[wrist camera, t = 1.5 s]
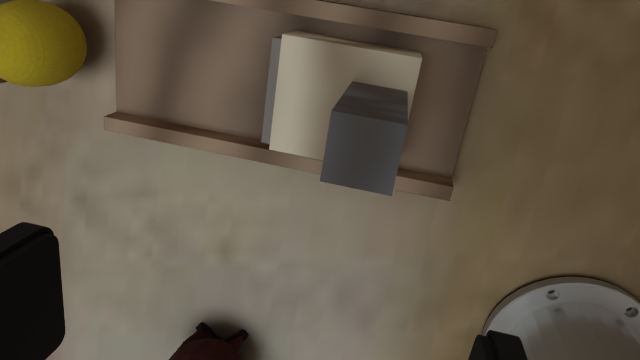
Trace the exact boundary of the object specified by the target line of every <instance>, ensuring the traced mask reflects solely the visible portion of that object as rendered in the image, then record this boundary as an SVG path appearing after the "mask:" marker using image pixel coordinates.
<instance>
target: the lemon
mask: <svg viewBox="0 0 640 360" xmlns="http://www.w3.org/2000/svg"><path fill="white" fill-rule="evenodd" d="M86 54H87V42H86V38H85V35H84V32H83V30H82V28H81V27H80V25H79V24H78V22H77V21H76V20H75V19H74V18H73V17H72V16H71V15H70V14H69V13H68V12H66V11H64V10H63V9H61V8H59V7H58V6H56V5H53V4H50V3H47V2H43V1H39V0H13V1H10V2H6V3H3V4H0V78H1V79H3V80H5V81H8V82H10V83H13V84H18V85H23V86H30V87H39V86H49V85H54V84H57V83H60V82H62V81H65V80H67V79H69V78H71V77H72V76H73V75H74V74H75V73H77V72H78V71H79V70H80V68H81V67H82V65H83V63H84V61H85V58H86Z"/></svg>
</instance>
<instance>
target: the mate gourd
mask: <svg viewBox="0 0 640 360" xmlns="http://www.w3.org/2000/svg"><path fill="white" fill-rule="evenodd" d="M196 329H197V332H196V333H194V334H193V335H192V336H190V337H189V338H188V339H186V340H185V341H184V342H183V343H182V345H181V346H180V347H179V348H178V349H177V351H176V352H175V353H174V354H173V355H172V357H171V358H170V359H169V360H241V357H240V355H239V352H240V349H241V344H242V341H244V340H245V339H246V338H247V337H248V333H247V332H246V331H245V330H243V329H242V330H240V331H239V332H237V333H236V334H234V335H233V336H231V337H230V338H228V339H226V340H225V341H223V340H221V339H220V338H219V337H218V336H217V335H216V334H215V333H214V332H213V331H212V330H211V329H210V328H209V327H208V326H207V325H206V324H205V323H204V322H202V323H200V324H199V325H198V326H197V327H196Z"/></svg>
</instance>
